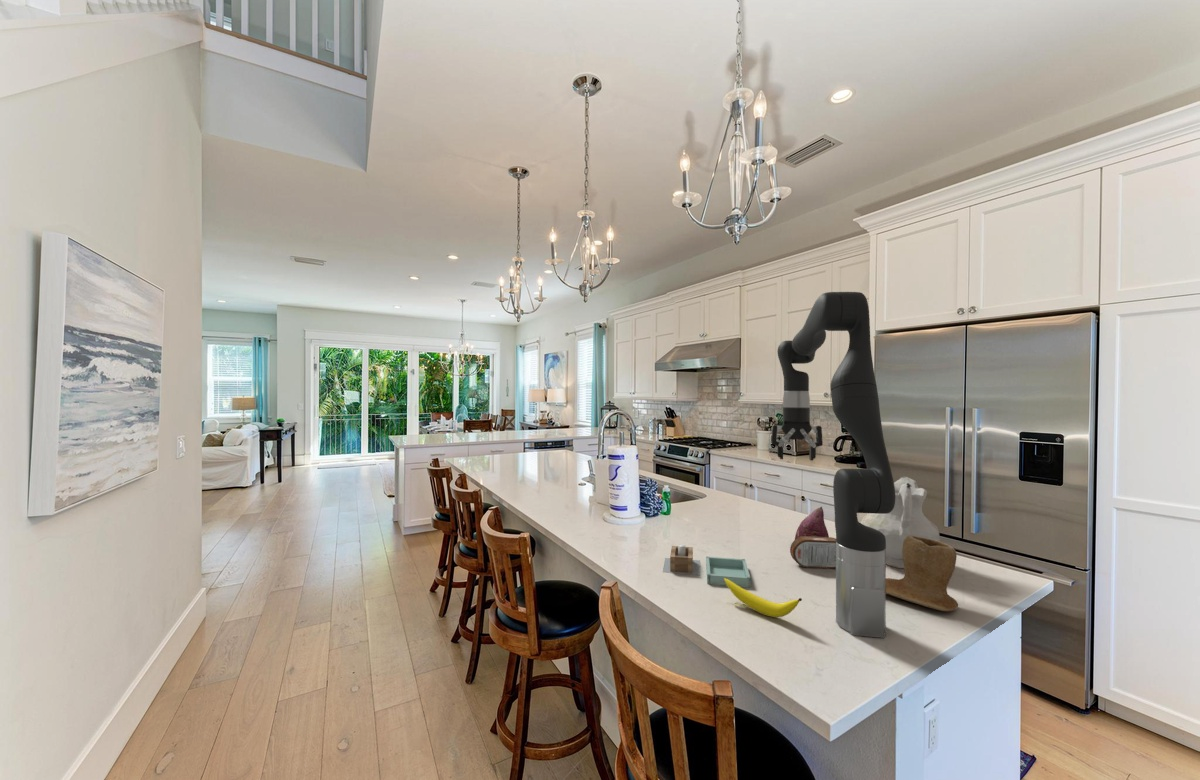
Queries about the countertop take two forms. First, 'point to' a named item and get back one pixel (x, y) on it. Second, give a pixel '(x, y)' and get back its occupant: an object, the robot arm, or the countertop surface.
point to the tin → (814, 552)
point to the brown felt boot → (925, 574)
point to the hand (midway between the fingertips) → (796, 459)
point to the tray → (727, 571)
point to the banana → (761, 602)
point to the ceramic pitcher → (903, 520)
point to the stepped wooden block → (681, 560)
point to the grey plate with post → (682, 553)
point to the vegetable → (813, 525)
